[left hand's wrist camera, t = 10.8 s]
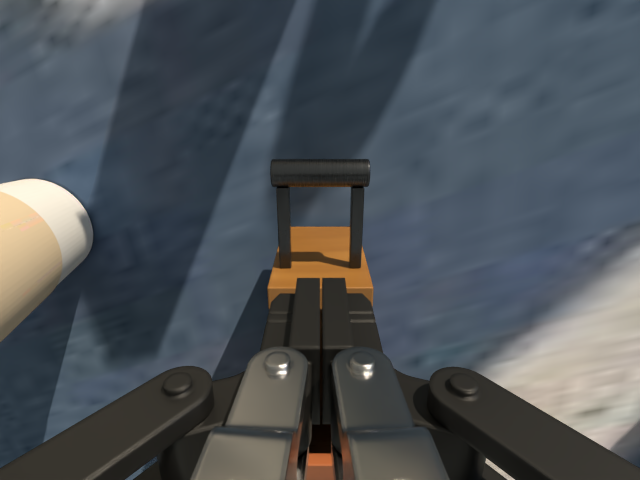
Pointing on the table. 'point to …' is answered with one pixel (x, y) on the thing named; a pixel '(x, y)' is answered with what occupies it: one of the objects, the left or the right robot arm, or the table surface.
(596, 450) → the left robot arm
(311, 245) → the drawer
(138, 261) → the table surface
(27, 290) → the coffee cup
